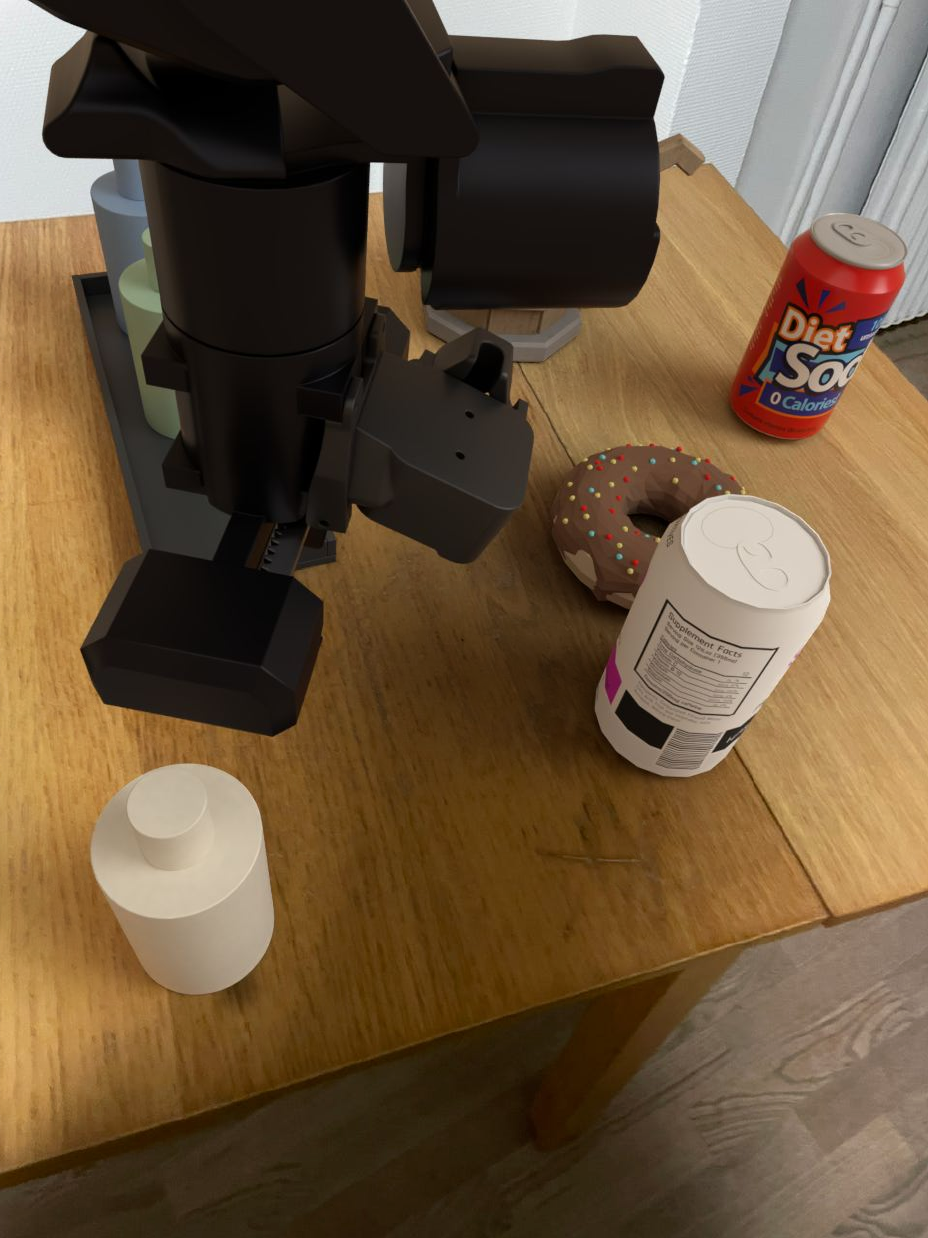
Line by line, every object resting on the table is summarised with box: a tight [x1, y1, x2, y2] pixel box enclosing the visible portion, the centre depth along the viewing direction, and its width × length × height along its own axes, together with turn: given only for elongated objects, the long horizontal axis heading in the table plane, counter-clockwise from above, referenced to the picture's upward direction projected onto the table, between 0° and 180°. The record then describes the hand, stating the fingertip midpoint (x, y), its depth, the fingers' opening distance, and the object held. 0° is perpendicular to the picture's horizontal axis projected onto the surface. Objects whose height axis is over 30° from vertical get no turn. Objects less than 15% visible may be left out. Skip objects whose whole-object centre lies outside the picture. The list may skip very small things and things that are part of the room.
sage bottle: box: [118, 228, 181, 439], centre depth 58 cm, size 6×6×13 cm
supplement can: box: [594, 494, 832, 778], centre depth 47 cm, size 8×8×15 cm
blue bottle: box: [89, 159, 149, 335], centre depth 64 cm, size 6×6×13 cm
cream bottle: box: [89, 762, 275, 996], centre depth 38 cm, size 6×6×13 cm
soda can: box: [728, 212, 908, 440], centre depth 66 cm, size 8×8×15 cm
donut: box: [547, 443, 747, 610], centre depth 59 cm, size 14×14×5 cm
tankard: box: [422, 132, 706, 363], centre depth 70 cm, size 20×13×15 cm, turn 97°
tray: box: [70, 271, 337, 571], centre depth 63 cm, size 11×31×2 cm, turn 22°
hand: (283, 624), depth 38 cm, fingers open, 9 cm apart
